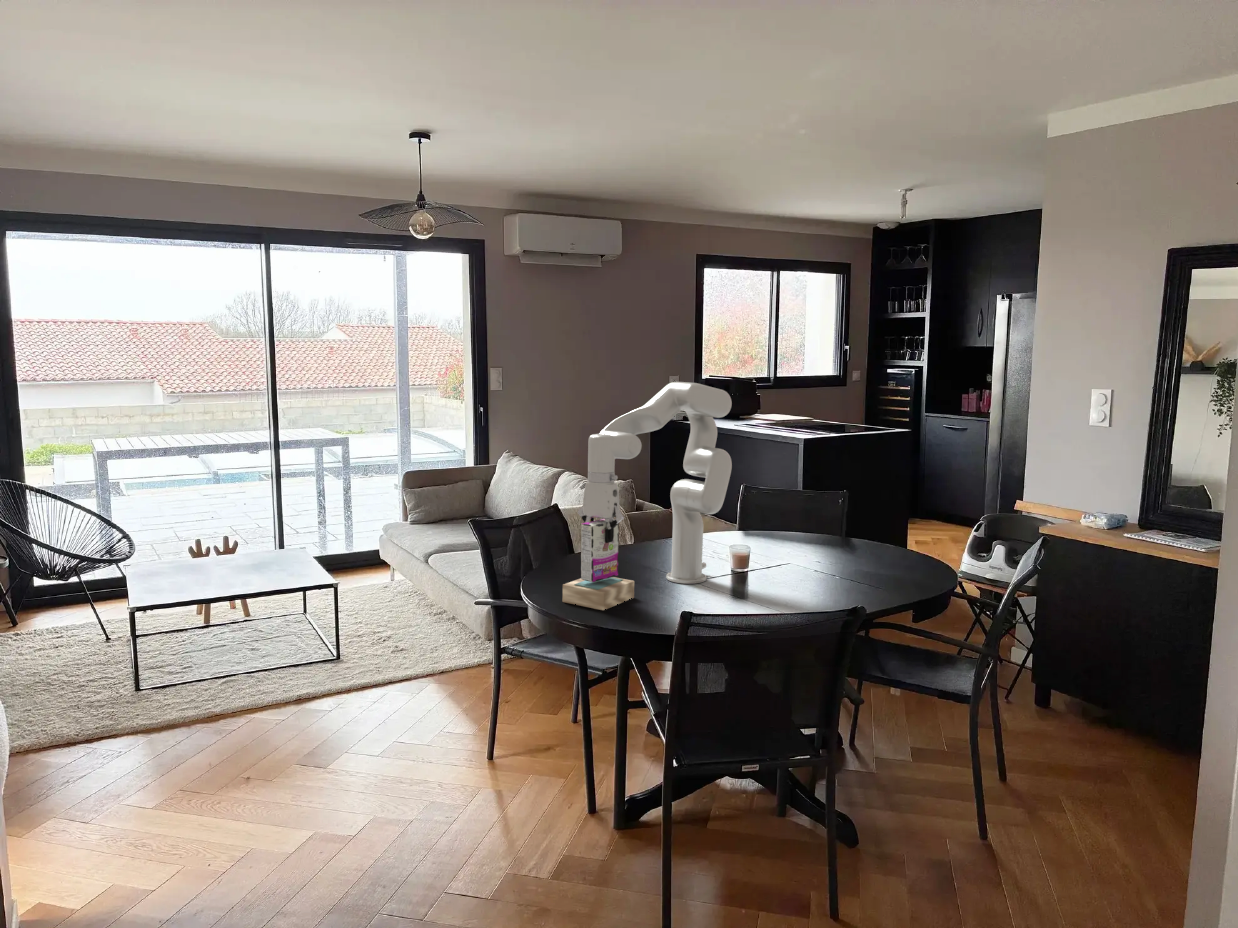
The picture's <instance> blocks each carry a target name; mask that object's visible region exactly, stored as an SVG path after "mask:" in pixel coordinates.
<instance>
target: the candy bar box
mask: <svg viewBox="0 0 1238 928" xmlns="http://www.w3.org/2000/svg"><path fill="white" fill-rule="evenodd" d="M580 524H581V525H580V578H581V579H582V580H585V581H590V582H595V581H599V580H603V579H607V578H610V577H618V576H619V553H620V552H619V545H620V544H619V543H620V542H619V537H620V536H619V535H620V533H619V529H620V526H619V524H620V522H619V523H618V524H617V525H616V527H615V528H614V538H613V541H612V542H609V543H606V542H605V529H607V525H606V522H605V519H603V518H600V519H597V520H596V519H595V521H592V522H587V523H585V522H584V523H583V522H582V523H580Z"/></svg>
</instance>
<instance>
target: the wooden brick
mask: <svg viewBox="0 0 1238 928" xmlns="http://www.w3.org/2000/svg"><path fill="white" fill-rule="evenodd" d="M631 598H632V599H634V598H635V580H632V579H627V578H626V579H625V578H620V577H617V576H614V577H610V578H607V579H603V580H599V581H595V582H590V581H585V580H582V579H581V577H580V578H578V579H575V580H572V581H570V582H569V581H568V582H565V583H563V584H562V599H561V600H562V603H566V604H571V605H575V604H576V605H575V606H581V607H585V608H591V609H594V610H600V611H606V610H608V609H610V608H612V607H615V606H617V604H618V605H620V604H623V603H625V602H627V601H629V599H630V600H632V599H631ZM624 601H625V602H624ZM605 609H606V610H605Z"/></svg>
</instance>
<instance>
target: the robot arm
mask: <svg viewBox="0 0 1238 928" xmlns="http://www.w3.org/2000/svg"><path fill="white" fill-rule="evenodd" d="M732 404H733V403H732V398H731V396H730V394H729V393H728V391H726V390H724V389H720V388H716V387H712V386H709V385H706V384H701V383H699V382H698V383H697V382H688V381H687V382H686V381H685V382H684V381H671V382H670V383H669V382H668V383H667V384H666V385H665V386H664V387H663V388H662V389H661V390H659V391H658V392H657V393H656V394H655V395H654V396H653V397H651V399H649V400H648V401H647V402H646V403H645V404H643V405H642V406H640V407H638V408H635V409H633V410H631V411H629V412H627V413H625V414H622V415H620V416H619V417H617V418H615V419H613V420H612V421H610V423H608V424H607V425H606V426H605V427H604V428H603V429H601V431H600V432H599V433H593V434H591V435H589V437H588V440H587V441H588V445H587V447H588V448H587V450H588V451H587V481H586V482H585V485H584V491H583V498H582V499H583V500H582V502H583V503H582V506H581V507H580V508H579V509H578V511H577V514H578V515H579V517H581V519H582V521H583V522H584V523H587V522H592V521H596V519H598V518H599V519H605V522H606V525H607V529H605V542H606V543H609V542H612V541H613V538H614V528H615V527H616V525H617V524H618V523H619V524H620V522H621V521H623V520H624V519H625V517H624V515H623V513H622V512H621V510H620V509H621V506H620V504H621V502H620V494H619V487H618V483H617V482H615V481H617V480H618V478H619V477H618V475H616V474H615V473H616V472H615V467H616V466H615V464H616V461H615V460H616V459H619V460H620V459H621V460H631V459H634V458H636V457H637V456H638V455H639V454H640V453H641V450H642V447H643V445H642V444H643V443H642V442H641V439H640V438H639V436H637V435H640V434H645V433H651V432H654V431H658V430H660V429H662V428H663V427H664V426H665V425H667V423H668V422H670V421H671V420H673V418H674V417H675V416H676V415H677V414H678V413H680V412H682V411H684V412H685V413H686V416H687V419H688V421H689V424H690V425H689V426H690V433H689V437H688V441H687V445H686V449H685V453H684V457H683V464H682V467H683V470H684V472H685V473H686V474H688V475H691V476H693V477H699V478H705V480H704V481H701V480H697V479H696V480H695V479H689V478H684V479H683V478H682V479H680V480H677V481H676V482H674V484H673V485H672V487H671V488H670V493H669V494H670V495H669V497H670V503H671V509H672V534H671V535H672V536H671V537H672V539H671V540H672V541H671V571H670V572H668V573H666V577H665V578H666V579H667V580H668V581H670V582H672V583H677V584H685V585H686V584H688V585H689V584H693V585H694V584H701V583H704V582H705V581H707V575H706V574H704V573H703V569H705V568H707V563H706V562H703V545H704V544H703V543H704V542H703V541H704V520H703V517H702V515H701V514H706V515H714V514H716V513H719V511H720V510H721V509H722V508H723V504H724V502H725V498H726V495H727V490H728V486H729V483H730V479H731V478H730V477H731V475H732V468H733V465H732V464H733V463H732V458H731V456H730V454H729V453H728V451H726V450H724V449H723V448H718V447H716V444H717V438H718V426H717V424H716V421H715V419H714V418H718V419H719V418H724V417H725V416H727V415H728V414H729V413H730V411H731V409H732Z"/></svg>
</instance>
